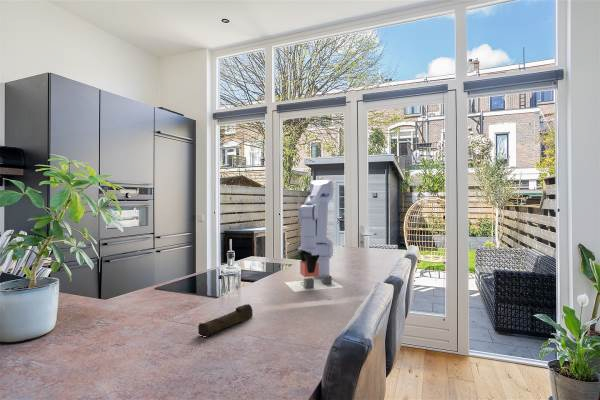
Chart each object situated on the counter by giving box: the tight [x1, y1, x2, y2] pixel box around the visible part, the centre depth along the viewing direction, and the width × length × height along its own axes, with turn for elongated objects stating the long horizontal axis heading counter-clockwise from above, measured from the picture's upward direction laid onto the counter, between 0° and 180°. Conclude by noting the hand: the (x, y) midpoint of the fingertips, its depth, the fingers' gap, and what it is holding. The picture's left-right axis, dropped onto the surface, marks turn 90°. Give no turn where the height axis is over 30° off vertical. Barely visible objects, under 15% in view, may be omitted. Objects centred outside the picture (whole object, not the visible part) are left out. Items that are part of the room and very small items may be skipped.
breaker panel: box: [284, 275, 344, 293], centre depth 138 cm, size 15×20×4 cm
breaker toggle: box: [303, 277, 315, 288], centre depth 133 cm, size 3×3×3 cm
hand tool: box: [197, 303, 254, 338], centre depth 98 cm, size 19×4×5 cm, turn 142°
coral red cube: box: [299, 260, 319, 278], centre depth 134 cm, size 6×6×5 cm
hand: (308, 271), depth 134 cm, fingers closed on coral red cube, 6 cm apart
